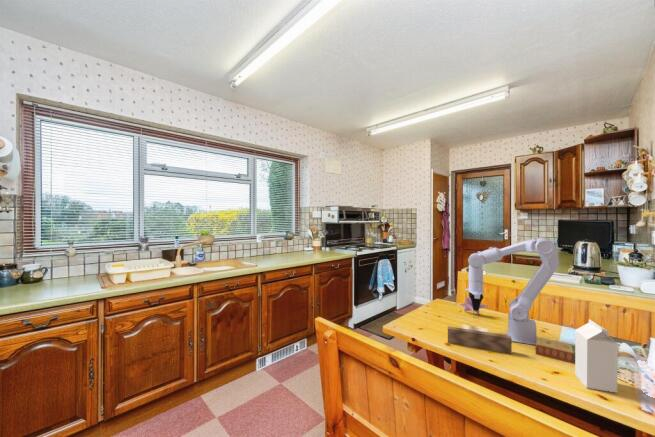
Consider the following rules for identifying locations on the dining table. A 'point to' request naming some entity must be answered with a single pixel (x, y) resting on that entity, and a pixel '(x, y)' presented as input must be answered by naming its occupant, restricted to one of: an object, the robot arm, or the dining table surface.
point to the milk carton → (596, 357)
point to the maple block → (474, 328)
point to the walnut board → (480, 339)
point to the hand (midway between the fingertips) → (475, 310)
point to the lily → (469, 305)
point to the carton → (555, 350)
